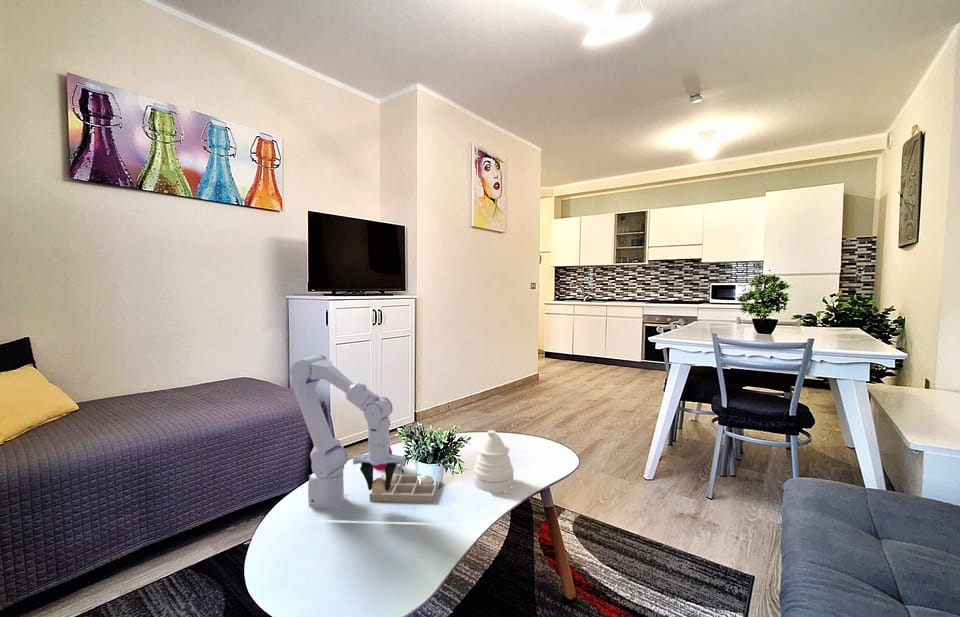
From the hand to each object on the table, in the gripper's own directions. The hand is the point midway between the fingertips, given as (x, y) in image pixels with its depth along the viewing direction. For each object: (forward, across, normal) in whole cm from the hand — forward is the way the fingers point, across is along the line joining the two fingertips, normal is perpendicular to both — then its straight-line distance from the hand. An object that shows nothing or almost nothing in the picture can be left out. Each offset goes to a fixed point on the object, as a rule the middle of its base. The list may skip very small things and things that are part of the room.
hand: (379, 488), depth 119 cm
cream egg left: (+6, -1, +14) cm, 15 cm away
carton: (+6, +5, +11) cm, 14 cm away
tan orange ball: (+1, 0, 0) cm, 1 cm away
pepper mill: (+7, -8, +29) cm, 31 cm away
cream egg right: (+6, +11, +14) cm, 19 cm away
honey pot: (+7, +32, +18) cm, 37 cm away
